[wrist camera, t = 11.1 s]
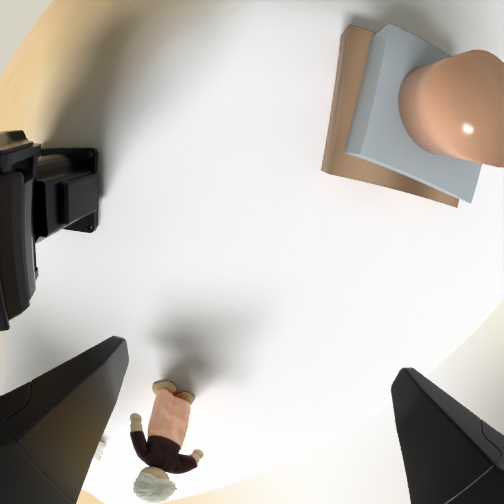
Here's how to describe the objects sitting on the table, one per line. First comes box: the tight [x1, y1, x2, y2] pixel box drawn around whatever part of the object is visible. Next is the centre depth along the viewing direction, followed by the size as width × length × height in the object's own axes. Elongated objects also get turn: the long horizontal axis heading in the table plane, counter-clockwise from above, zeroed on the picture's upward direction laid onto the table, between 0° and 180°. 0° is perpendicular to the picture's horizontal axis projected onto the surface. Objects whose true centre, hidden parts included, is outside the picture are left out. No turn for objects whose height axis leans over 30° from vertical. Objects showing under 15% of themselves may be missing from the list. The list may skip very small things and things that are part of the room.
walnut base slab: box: [321, 25, 459, 208], centre depth 16 cm, size 10×10×3 cm
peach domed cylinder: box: [398, 50, 504, 167], centre depth 10 cm, size 5×5×5 cm
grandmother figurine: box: [130, 381, 203, 503], centre depth 21 cm, size 8×4×13 cm, turn 59°
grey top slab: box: [344, 23, 482, 203], centre depth 13 cm, size 8×8×3 cm
